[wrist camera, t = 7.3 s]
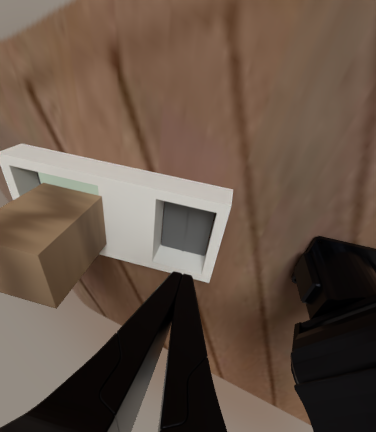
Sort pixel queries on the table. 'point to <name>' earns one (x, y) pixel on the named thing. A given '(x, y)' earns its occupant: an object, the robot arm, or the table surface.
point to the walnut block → (49, 242)
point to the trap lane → (134, 207)
